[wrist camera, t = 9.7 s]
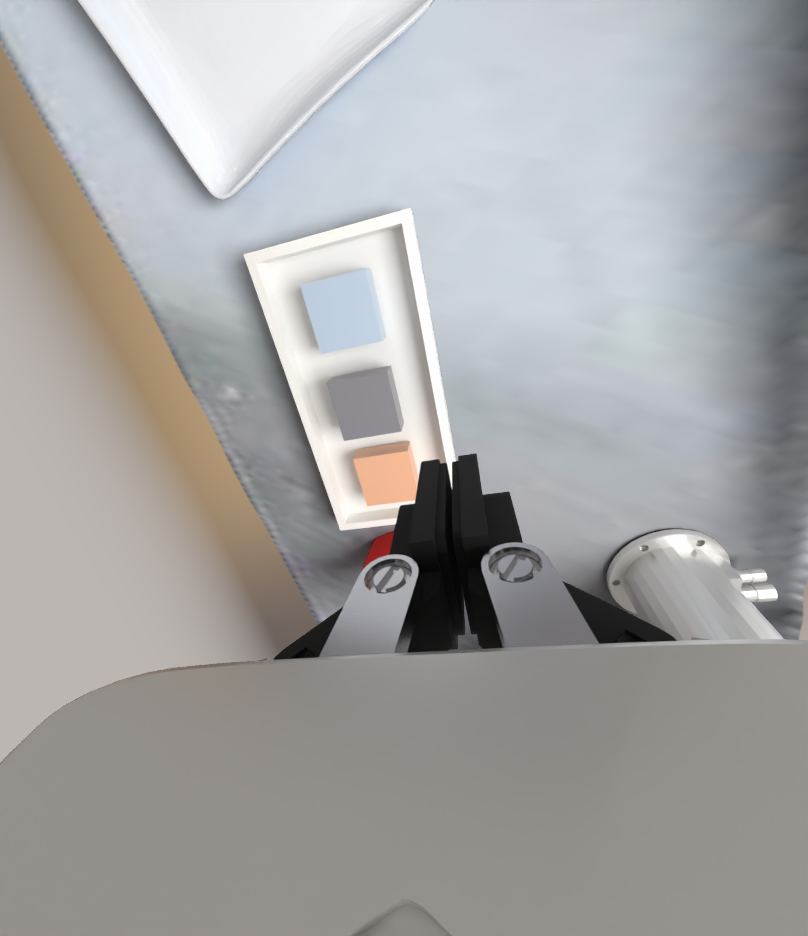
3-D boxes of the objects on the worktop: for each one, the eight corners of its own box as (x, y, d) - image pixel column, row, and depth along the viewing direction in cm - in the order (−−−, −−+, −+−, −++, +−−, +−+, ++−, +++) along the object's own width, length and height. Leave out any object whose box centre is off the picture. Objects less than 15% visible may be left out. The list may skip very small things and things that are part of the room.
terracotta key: (410, 441, 39) (407, 450, 37) (420, 487, 41) (419, 499, 39) (358, 449, 40) (352, 459, 38) (371, 494, 42) (367, 506, 40)
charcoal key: (390, 365, 35) (387, 371, 33) (404, 422, 37) (401, 431, 35) (333, 376, 36) (326, 383, 34) (349, 431, 38) (343, 441, 36)
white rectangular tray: (413, 213, 31) (409, 207, 28) (463, 501, 43) (464, 516, 40) (259, 255, 34) (243, 254, 31) (346, 515, 46) (340, 530, 43)
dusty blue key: (370, 268, 32) (365, 268, 30) (386, 336, 34) (382, 341, 32) (309, 284, 33) (299, 285, 31) (328, 349, 36) (320, 354, 33)
